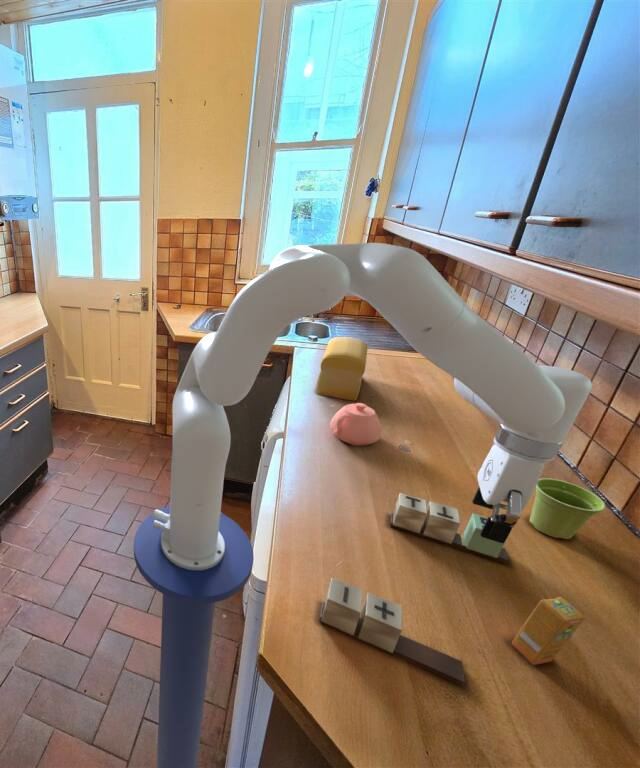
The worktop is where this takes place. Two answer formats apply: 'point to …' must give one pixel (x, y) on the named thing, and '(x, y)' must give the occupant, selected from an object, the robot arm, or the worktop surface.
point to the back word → (433, 523)
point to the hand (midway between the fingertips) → (486, 521)
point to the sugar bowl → (356, 424)
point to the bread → (342, 368)
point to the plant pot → (562, 507)
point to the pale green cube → (475, 539)
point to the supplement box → (547, 630)
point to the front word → (383, 629)
